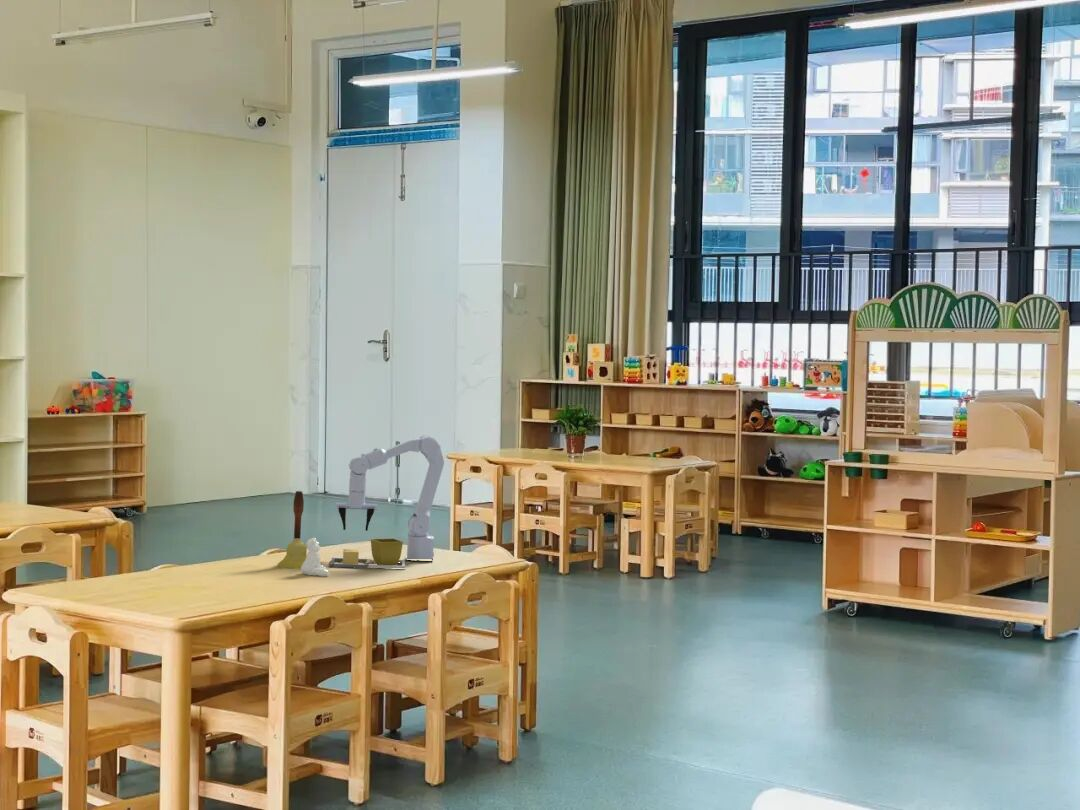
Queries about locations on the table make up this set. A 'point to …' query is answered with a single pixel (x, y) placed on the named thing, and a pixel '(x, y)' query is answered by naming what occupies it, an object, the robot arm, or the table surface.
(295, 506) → the handbell
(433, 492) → the robot arm
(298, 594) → the table surface
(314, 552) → the white creature statuette
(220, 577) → the table surface
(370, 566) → the sorting board
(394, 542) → the flower pot
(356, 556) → the ochre block
